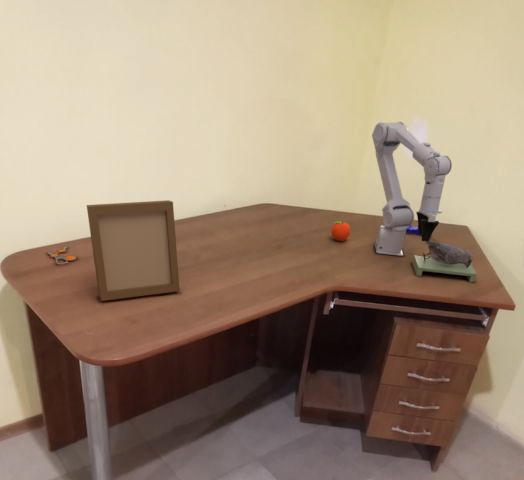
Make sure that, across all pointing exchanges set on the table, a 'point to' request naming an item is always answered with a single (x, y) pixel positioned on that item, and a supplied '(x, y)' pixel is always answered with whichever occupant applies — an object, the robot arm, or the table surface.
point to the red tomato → (340, 231)
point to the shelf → (442, 267)
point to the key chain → (62, 257)
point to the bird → (448, 254)
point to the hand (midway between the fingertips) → (423, 237)
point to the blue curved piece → (412, 230)
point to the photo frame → (134, 248)
